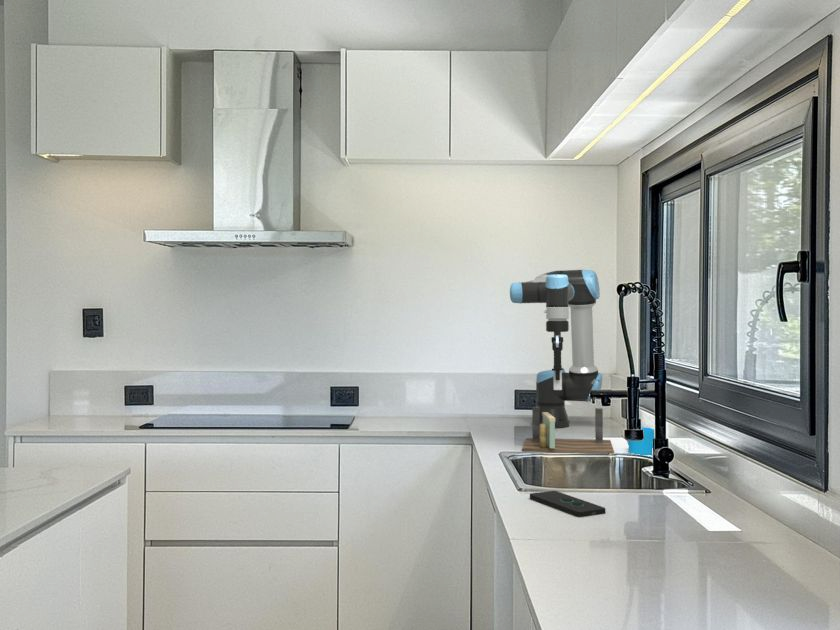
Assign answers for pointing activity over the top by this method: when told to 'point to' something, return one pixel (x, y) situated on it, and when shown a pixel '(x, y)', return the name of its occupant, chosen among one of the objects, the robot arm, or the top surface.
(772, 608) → the top surface
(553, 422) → the bar
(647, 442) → the mug
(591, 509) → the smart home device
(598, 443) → the gate frame
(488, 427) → the top surface
